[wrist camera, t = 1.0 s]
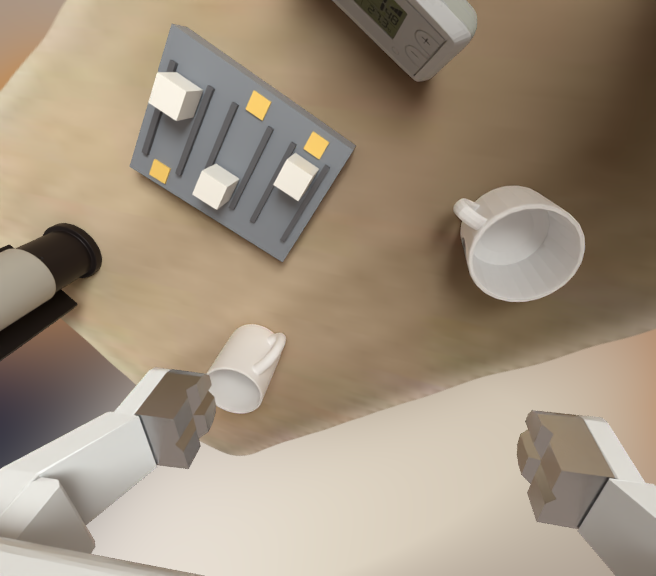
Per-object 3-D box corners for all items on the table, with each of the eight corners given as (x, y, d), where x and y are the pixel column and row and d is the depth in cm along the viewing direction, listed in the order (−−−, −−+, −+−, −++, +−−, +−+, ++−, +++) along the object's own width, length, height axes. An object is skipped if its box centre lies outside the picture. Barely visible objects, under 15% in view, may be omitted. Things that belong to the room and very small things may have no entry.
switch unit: (187, 27, 38) (168, 23, 35) (356, 145, 41) (352, 151, 38) (144, 161, 46) (126, 167, 43) (288, 252, 49) (281, 264, 46)
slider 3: (295, 152, 39) (286, 159, 36) (319, 168, 40) (312, 176, 37) (282, 176, 41) (273, 184, 38) (305, 191, 41) (298, 201, 38)
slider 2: (216, 163, 41) (201, 170, 38) (239, 178, 42) (227, 187, 39) (206, 186, 43) (192, 194, 40) (229, 200, 43) (216, 209, 40)
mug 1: (274, 300, 53) (249, 345, 45) (311, 339, 56) (295, 389, 47) (221, 337, 59) (190, 383, 50) (257, 371, 61) (233, 421, 52)
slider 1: (176, 72, 37) (157, 72, 34) (203, 90, 38) (186, 91, 35) (167, 100, 39) (148, 102, 36) (193, 117, 39) (176, 120, 36)
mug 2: (577, 217, 41) (612, 246, 34) (504, 283, 46) (523, 320, 40) (483, 146, 39) (501, 162, 32) (418, 223, 44) (422, 251, 38)
